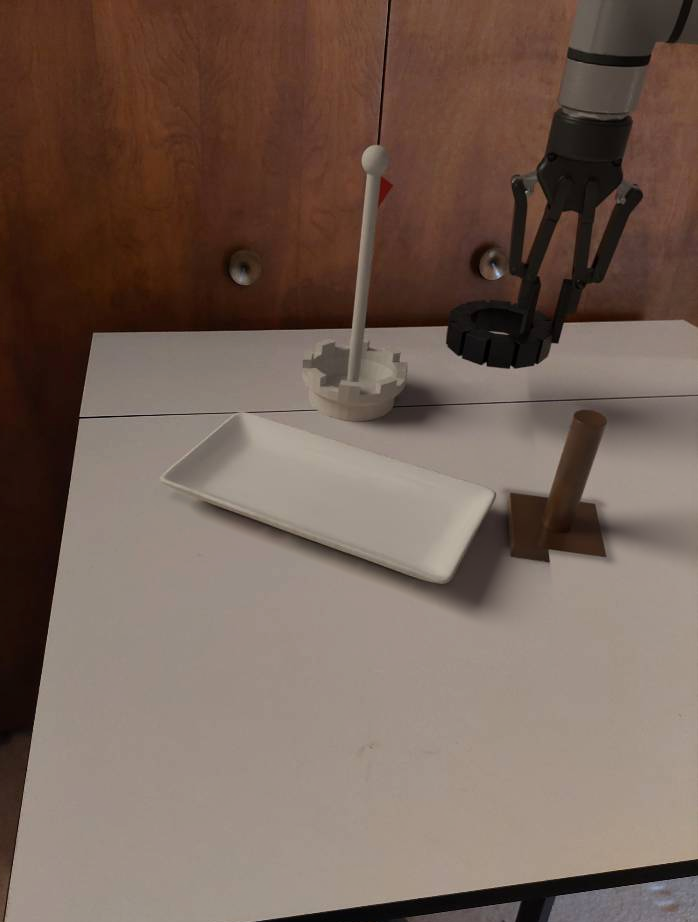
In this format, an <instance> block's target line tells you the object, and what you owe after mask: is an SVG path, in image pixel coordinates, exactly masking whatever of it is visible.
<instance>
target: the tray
mask: <svg viewBox="0 0 698 922" xmlns="http://www.w3.org/2000/svg"><path fill="white" fill-rule="evenodd" d="M159 482H160V483H161V484H163V485H165V486H167V487H170V488H172V489H174V490H176V491H178V492H180V493H182V494H185V495H188V496H190V497H192V498H194V499H198V500H201V501H204V502H205V503H209V504H211V505H213V506H216V507H219V508H222V509H225V510H226V511H230V512H233V513H236V514H238V515H242V516H245V517H247V518H249V519H252V520H254V521H255V520H256V521H258V522H260V523H262V524H266V525H269V526H272V527H274V528H277V529H280V530H282V531H284V532H287V533H290V534H293V535H296V536H299V537H302V538H305V539H307V540H310V541H313V542H316V543H319V544H321V545H324V546H326V547H329V548H332V549H336V550H338V551H341V552H344V553H346V554H348V555H352V556H355V557H357V558H360V559H363V560H366V561H368V562H372V563H375V564H377V565H380V566H382V567H385V568H388V569H390V570H394V571H396V572H397V573H400V574H401V573H402V574H404V575H407V576H410V577H413V578H415V579H419V580H422V581H426V582H428V583H429V582H430V583H435V584H439V585H440V584H442V585H443V584H447V583H449V582H450V581H451V580H452V579H453V577H454V576H455V574H456V572H457V571H458V569H459V567H460V564H461V562H462V561H463V559H464V556H465V554H466V553H467V550H468V549H469V547H470V545H471V543H472V541H473V539H474V538H475V536H476V534H477V533H478V530H479V528H480V527H481V525H482V523H483V522H484V519H485V518H486V516H487V514H488V513H489V511H490V509H491V508H492V506H493V504H494V502H495V500H496V498H497V492H496V490H494V489H492V488H490V487H487V486H485V485H482V484H478V483H475V482H472V481H468V480H465V479H463V478H458V477H455V476H453V475H452V476H451V475H448V474H445V473H442V472H439V471H435V470H432V469H429V468H426V467H422V466H419V465H417V464H414V463H409V462H406V461H404V460H400V459H397V458H393V457H391V456H387V455H384V454H381V453H378V452H374V451H371V450H368V449H365V448H362V447H358V446H355V445H352V444H349V443H346V442H343V441H339V440H336V439H333V438H330V437H327V436H324V435H320V434H317V433H314V432H311V431H308V430H305V429H302V428H298V427H296V426H292V425H289V424H286V423H282V422H280V421H276V420H273V419H270V418H267V417H263V416H260V415H257V414H254V413H250V412H244V411H240V412H236V413H234V414H232V415H231V416H230V417H229V418H227V419H226V420H225V421H224V422H222V423H221V424H220V425H219V426H218V427H217V428H216V429H215V430H214V431H212V432H211V433H210V434H208V435H207V436H206V437H205V438H204V439H203V440H202V441H200V442H199V443H198V444H197V445H195V446H194V447H193V448H192V449H191V450H189V452H187V453H186V454H185V455H183V456H182V457H181V458H180V459H179V460H178V461H176V462H175V463H174V464H173V465H172V466H170V467H169V468H168V469H167V470H166V471H164V473H162V474H161V475H160V477H159Z"/></svg>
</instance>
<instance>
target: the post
mask: <svg viewBox="0 0 698 922" xmlns="http://www.w3.org/2000/svg"><path fill="white" fill-rule="evenodd" d="M607 423H608V418H607V416H605V415H604V414H602V413H601V412H598V411H596V410H594V409H593V410H592V409H579V410H576V411H575V412H574V414H573V416H572V420H571V423H570V425H569V429H568V431H567V432H568V433H567V436H566V439H565V442H564V444H563V445H564V446H563V448H562V451H561V455H560V459H559V462H558V465H557V468H556V471H555V475H554V478H553V481H552V484H551V488H550V491H549V494H548V497H547V496H540V495H531V494H524V493H518V492H517V493H516V492H509V495H508V498H507V503H506V504H507V505H506V507H507V523H508V534H509V535H508V536H509V547H510V548H509V550H510V557H514V558H522V559H528V560H533V561H534V560H536V561H542V560H543V562H549V561H550V562H551V558H550V551H556V552H558V551H559V552H563V553H570V554H578V555H585V556H592V557H601V558H607V552H606V548H605V544H604V539H603V533H602V529H601V524H600V519H599V513H598V510H597V505H596V503H593V502H585V501H581V500H582V497H583V494H584V491H585V489H586V486H587V483H588V479H589V476H590V474H591V471H592V468H593V464H594V462H595V459H596V455H597V454H598V450H599V447H600V444H601V442H602V439H603V435H604V433H605V430H606V427H607Z"/></svg>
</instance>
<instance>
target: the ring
mask: <svg viewBox="0 0 698 922" xmlns="http://www.w3.org/2000/svg"><path fill="white" fill-rule="evenodd" d="M524 311H525V309H519V307H518V302H514V303H513V304H512V302H511V301H507V300H497V299H489V300H488V301H487V300H485V299H480V300H473V301H466V302H465V303H461V304H459V305H458V306H456V307H454V308H452V309H451V310H450V312H449V316H448V323H447V328H446V334H445V345H446V347H447V348H448V349H449V350H450V351H451V352H452V353H454V354H455V355H456V356H457V357H461V359H463V360H465V361H469V362H471V363H472V364H473V363H474V364H476V365H478V366H483V365H484V364H486V367H487V368H494V369H495V368H497V369H507V370H510V369H511V367H512V368H513V369H515V370H516V369H522V368H528V367H535V365H539V364H540V363H541V362H544V360H546V359H547V358H548V357H549V355H550V351H551V347H552V344H553V343H552V339H553V335H554V331H555V330H554V325H553V320H552V318H550V317H549V316H547V315H546V314H544V313H543V312H541V311H540V310H535V313H534V318H533V322H532V326H531V329H530V330H529V331H528V332H526V333H520V328H521V324H522V320H523V315H524Z"/></svg>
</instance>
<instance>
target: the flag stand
mask: <svg viewBox="0 0 698 922" xmlns="http://www.w3.org/2000/svg"><path fill="white" fill-rule="evenodd" d="M389 165H390V154H389V152H388V150H387V149H386V148H385V147H383V146H382V145H381V144H373V145H370V146H368V147H367V148H366V149H365V150H364V152H363V153H362V156H361V166H362V169H363V170H364V172H366V181H365V182H366V183H365V192H364V200H363V201H364V202H363V212H362V222H361V231H360V232H361V233H360V242H359V253H358V264H357V275H356V282H355V283H356V285H355V293H354V303H353V304H354V305H353V315H352V324H351V325H352V326H351V334H350V335H351V337H350V340H349V345H336V341H335V340H334V339H333V338H328V339H323V340H321V341H318V342H316V343H315V351H311V350H307V349H306V350H305V351H304V353H303V354H302V355H303V356H302V366H301V368H302V369H301V378H302V382H303V383H304V384H305V386H306V387H307V388H308V401H309V403H310V404H311V406H312V407H313V408H314V409H315V410H316V411H318V412H319V413H321V414H323V415H325V416H328V417H330V418H334V419H337V420H342V421H347V422H349V421H350V422H365V421H372V420H375V419H380V418H382V417H384V416H386V415H387V414H388V413H390V412H391V411H392V409H393V408H394V405H395V401H396V396H398V395H399V394H400V393H402V391H403V390H404V389H405V386H406V382H407V376H408V368H409V365H408V364H409V363H408V361H401V354H402V353H401V352H400V351H399V350H398V349H396V348H395V347H393V346H391V345H389V344H386V345H384V346H382V347H381V350H379V349H376V348H373V347H370V342H371V339H369V338H364V337H365V330H366V329H365V328H366V321H367V320H366V319H367V311H368V302H369V291H370V282H371V273H372V266H373V265H372V264H373V256H374V255H373V254H374V246H375V245H374V244H375V236H376V227H377V220H378V219H377V216H378V210H379V208H380V206H381V205H382V203H383V202H384V200H385V199H386V197H387V196H388V195H389V193H390V191H391V190H392V188H394V187H393V186H394V184H393V183H391V182H390V181H389V180H388V179H386V178H385V177H384V176H382V174H384V173H385V172H386V171H387V169H388V168H389Z"/></svg>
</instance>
